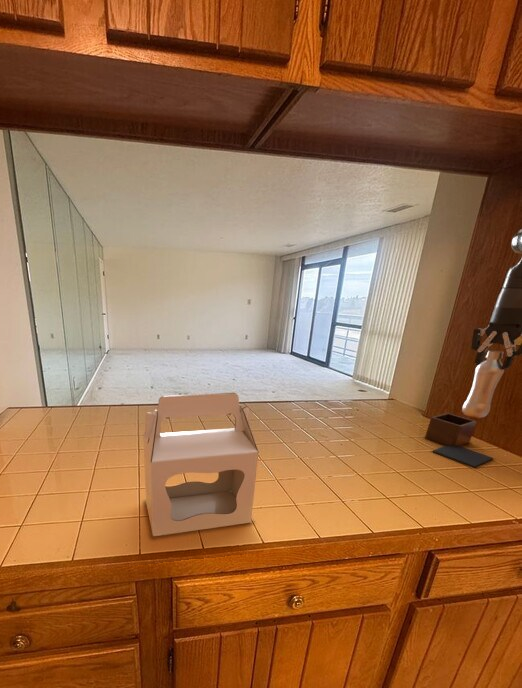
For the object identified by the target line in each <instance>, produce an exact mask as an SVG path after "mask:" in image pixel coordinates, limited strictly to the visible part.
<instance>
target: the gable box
mask: <svg viewBox="0 0 522 688" xmlns="http://www.w3.org/2000/svg"><path fill="white" fill-rule="evenodd" d="M223 415H227V416H231V415H233V417H234V427H230V428H228V427H227V428H215V429H204V430H203V429H201V430H190V431H174V432H162V429H161V427H162V426H161V425H162V422H163V421H164V420H165V419H166V420H169V419H175V418H176V419H178V418H193V417H208V416H223ZM161 432H162V433H161ZM253 435H254V434H253V433H252V430H251V427H250V407H249V406H243V407H242V406H241V405H240V397H239V395H238V393H236V392H219V393H202V394H201V393H197V394H196V393H195V394H179V395H177V394H176V395H162V396H160V397H159V399H158V402H157V409H154V410H153V412H149V411H147V412H146V413H145V430H144V433H143V435H142V437H143V462H144V487H145V488H144V489H145V504H146V509H147V515H148V520H149V523H150V528H151V534H152V537H160V536H167V535H173V534H174V535H175V534H181V533H187V532H188V533H189V532H194V531H200V530H208V529H215V528H222V527H228V526H237V525H243V524H250V523H252V518H253V508H254V499H255V489H256V488H255V487H256V479H257V470H258V469H257V468H258V462H259V461H258V459H259V449H258V447H257V444H256V440H255V439H254V436H253ZM189 473H190V474H215V473H216V474H217V473H218V476H217V477H218V478H217V479H216V480H215V481H212V482H204V481H187V482H183V483H180V484H176V485H172V486H166V483H167V481H168V480H169V479H171V478H172V477H174V476H176V475H182V474H189Z"/></svg>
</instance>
